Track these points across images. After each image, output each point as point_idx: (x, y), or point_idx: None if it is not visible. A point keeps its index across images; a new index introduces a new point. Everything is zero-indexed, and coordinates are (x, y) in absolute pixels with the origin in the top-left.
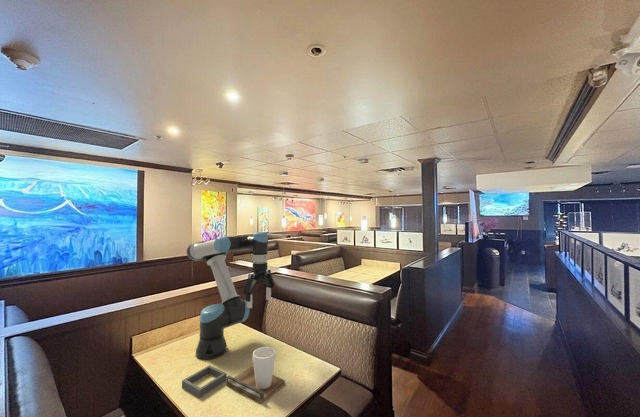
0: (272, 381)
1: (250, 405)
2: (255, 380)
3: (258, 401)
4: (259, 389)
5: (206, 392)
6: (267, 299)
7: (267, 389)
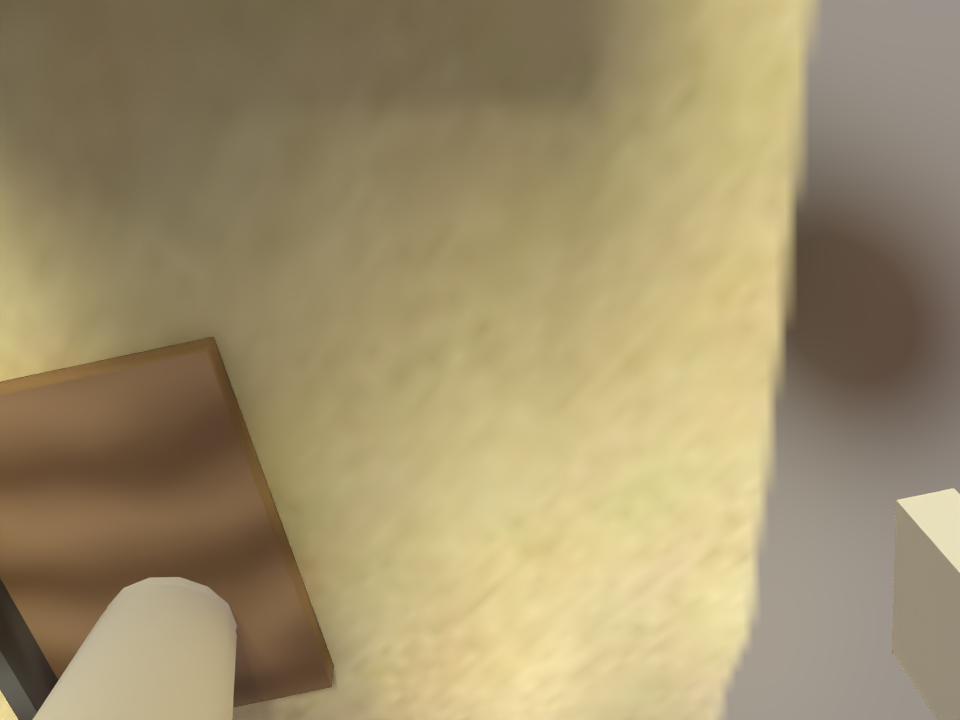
0: (245, 644)
1: None
2: (88, 635)
3: None
4: None
5: None
6: (905, 576)
7: None
